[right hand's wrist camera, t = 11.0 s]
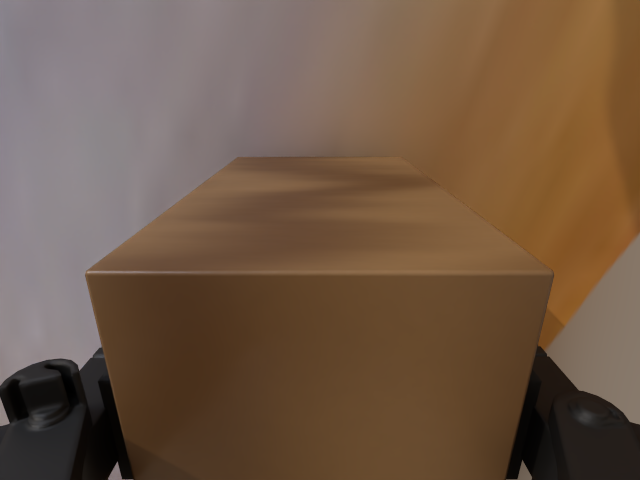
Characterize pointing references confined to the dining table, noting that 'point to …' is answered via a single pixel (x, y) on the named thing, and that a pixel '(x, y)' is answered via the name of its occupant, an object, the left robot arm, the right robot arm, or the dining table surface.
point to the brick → (319, 328)
